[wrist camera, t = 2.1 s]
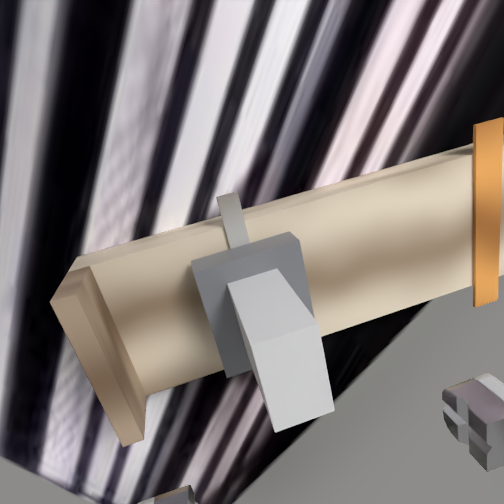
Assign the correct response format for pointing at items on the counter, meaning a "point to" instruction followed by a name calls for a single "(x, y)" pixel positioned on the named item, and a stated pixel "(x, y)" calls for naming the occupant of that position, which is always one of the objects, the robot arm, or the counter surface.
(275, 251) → the fader tab
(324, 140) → the counter surface
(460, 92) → the counter surface
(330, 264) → the fader track
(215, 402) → the counter surface
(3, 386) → the counter surface
